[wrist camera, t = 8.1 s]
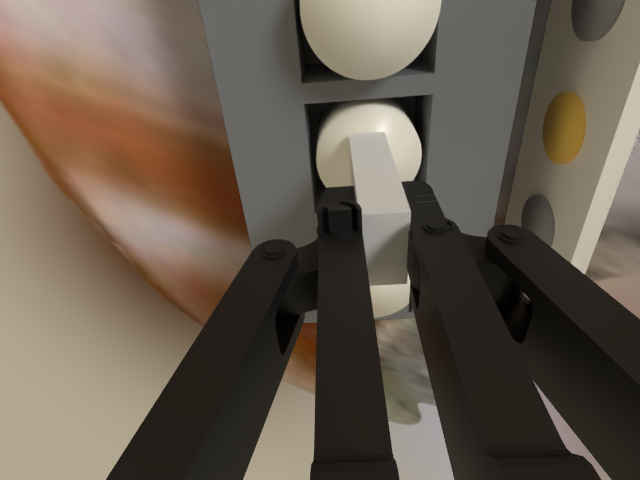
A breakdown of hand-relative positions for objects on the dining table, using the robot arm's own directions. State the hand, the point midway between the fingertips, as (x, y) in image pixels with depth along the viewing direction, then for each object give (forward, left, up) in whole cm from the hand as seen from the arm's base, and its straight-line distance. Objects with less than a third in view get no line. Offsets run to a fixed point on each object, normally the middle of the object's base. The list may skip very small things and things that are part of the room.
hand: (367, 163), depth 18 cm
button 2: (-6, 0, -2) cm, 6 cm away
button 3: (0, 0, -3) cm, 3 cm away
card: (-3, +9, -5) cm, 11 cm away
